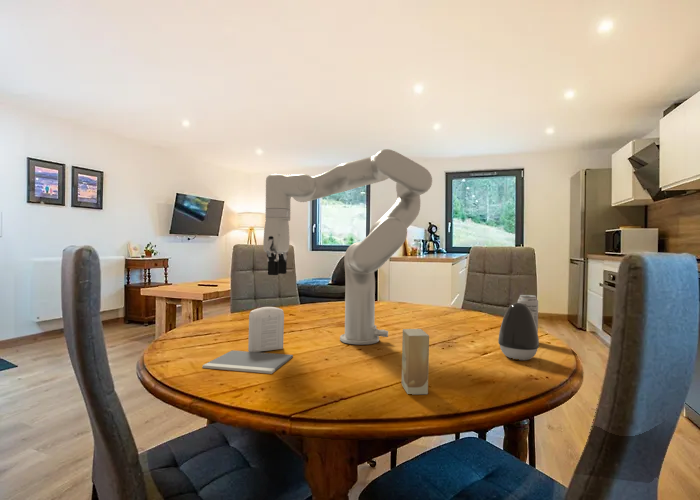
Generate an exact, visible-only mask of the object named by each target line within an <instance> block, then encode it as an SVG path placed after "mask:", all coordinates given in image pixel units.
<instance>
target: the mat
mask: <svg viewBox="0 0 700 500" xmlns="http://www.w3.org/2000/svg"><path fill="white" fill-rule="evenodd" d="M293 358H294V355H293V354H286V353H271V352H249V351H244V350H230V351H228V352H226V353H224V354H222V355H220V356H218V357H216V358H214V359H212V360H210V361H208V362H206V363H204V364H202V369H211V370H223V371H224V370H225V371H226V370H227V371H236V372H248V373H261V374H269V375H270V374H271V375H272V374H274V372H276V371H277V370H279V369H280V368H281V367H282V366H283V365H285V364H286V363H288V361H290V360H291V359H293Z"/></svg>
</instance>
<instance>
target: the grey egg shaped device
mask: <svg viewBox="0 0 700 500" xmlns="http://www.w3.org/2000/svg"><path fill="white" fill-rule="evenodd" d="M497 343H498V344H499V348H500V350H501V352H502V354H503V355H505V356H506V357H507V358H509V359H511V358H513V359H512V360H514V359H519V360H518V361H528V360H531V359H532V358H534V357H535V356H536V354H537V352H538V349H539V348H540V341H539V332H538V333H537V328H536V325H535V321H534V318H533V316H532V313H531V311H530V310H529V308H528V307H527V305H526V304H523V303H518V302H514V303H511V304H510V305H509V306H508V308H507V309H506V310H505V312H504V315H503V317H502V321H501V326H500V328H499V332H498V341H497Z"/></svg>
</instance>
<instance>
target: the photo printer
mask: <svg viewBox="0 0 700 500" xmlns="http://www.w3.org/2000/svg"><path fill="white" fill-rule="evenodd" d="M284 312H285V311H284V310H283V309H282V308H279V307H275V306H263V307H258V308H255V309H253V310H251V311H250V312H249V315H248V345H247V347H248V348H247V349H248V351H247V352H260V353H262V352H268V351H274V350H275V351H276V350H283V349H284V334H285V333H284V329H285V328H284V327H285V326H284V325H285V313H284Z"/></svg>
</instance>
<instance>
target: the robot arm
mask: <svg viewBox="0 0 700 500" xmlns="http://www.w3.org/2000/svg"><path fill="white" fill-rule="evenodd" d="M388 179H390V180H392V181H393V182H395V183H396V184H395V190H396V191H395V192H396V201H395V202H394V204H393V205H392V206H391V207H390V208H389V209H388V210H387V211H386V212H385V213H384V214H383V215H382V216H381V217H380V219H379V218H378V220H377V221H375V222H374V223H373V225H372V226H371V228H370V229H369V234H368V235H367V236H365V237H364V239H362V240H361V241H356V242H354V243H352V244H351V245H349V246H348V247H347V249H346V251H345V253H344V257H343V258H344V260H343V261H344V262H343V263H344V272H345V273H344V274H345V275H344V277H345V287H344V288H345V292H344V293H345V294H344V295H345V296H344V309H345V310H344V333H343V334H341V335H340V336H339V341H340V342H342V343H345V344H350V345H357V346H358V345H360V346H361V345H362V346H363V345H372V344H377V343H379V341H380V337H383V338H387V337H389V330H386V329H378V328H377V325H375V320H376V319H375V317H376V315H375V310H376V309H375V308H376V307H375V305H376V301H375V300H376V295H375V294H376V277H375V272H377V271H378V270H379V269H380V268H381V267H382V266H384V265H385V263H387V261H389V259H390V258H391V257H392V256H394V254H395V253H396V252H397V251H398V250H399V249H400V248H401V247H402V246H403V244H404V243H405V241H406V240H407V237H408V228H409V227H410V226H411V225H412V224H413V223H414V221H415V220H416V219H417V217H418V215H419V214H420V210H421V195H424V194H425V193H427V192H428V191H429V190H430V189H431V188H432V185H433V177H432V174H431V172H430V171H429V169H428V168H426V167H424V166H423V165H421V164H419V163H418V162H416V161H414V160H413V159H411V158H409V157H407V156H405V155H404V154H401V153H400V152H398V151H396V150H394V149H393V150H392V149H389V148H387V149H381V150H379V151H378V152H376V154H375V155H372V156H368V157H364V158H360V159H356V160H352V161H347V162H343V163H341V164H339V165H336V166H335V167H333V168H332V169H330V170H329V171H328V170H327V171H326V172H324V173H322V174H317V175H315V176H311V175H309V174H304V173H300V174H291V175H290V174H289V175H288V174H287V175H286V174H280V173H278V174H277V173H274V174H273V173H272V174H268V175H267V176H266V180H265V220H264V221H265V222H264V230H263V243H262V245H263V246H262V248H263V249H262V250H263V251H264V252H265V253H266V257H267V275H268V276H278V275H279V274H280V275H286V274H287V269H288V268H287V265H288V264H287V262H288V261H287V260H288V254H289V253H288V252H289V250H290V224H289V223H290V221H291V198H293V200H295V201H296V202H299V203H307V202H311V201H314V200H319V199H322V198H326V197H329V196H332V195H335V194H340V193H344V192H347V191H351V190H353V189H358V188H360V187H365V186H368V185H372V184H377V183H380V182H383V181H386V180H388Z"/></svg>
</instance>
